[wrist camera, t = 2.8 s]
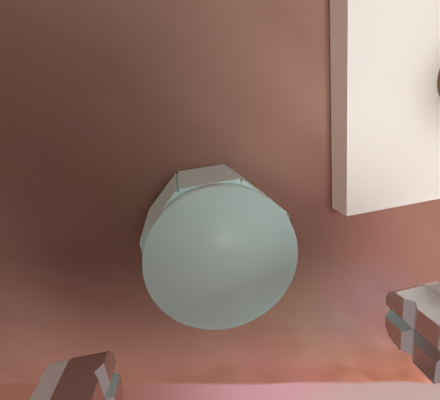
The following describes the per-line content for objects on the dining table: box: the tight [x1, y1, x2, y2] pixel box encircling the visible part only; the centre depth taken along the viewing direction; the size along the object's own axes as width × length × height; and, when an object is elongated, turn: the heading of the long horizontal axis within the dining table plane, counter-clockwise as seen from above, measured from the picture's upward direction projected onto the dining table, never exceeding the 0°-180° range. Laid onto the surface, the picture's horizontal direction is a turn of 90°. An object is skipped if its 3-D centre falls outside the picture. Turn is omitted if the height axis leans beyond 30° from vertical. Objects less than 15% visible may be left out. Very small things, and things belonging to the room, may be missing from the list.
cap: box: [139, 164, 298, 330], centre depth 13 cm, size 6×6×5 cm
